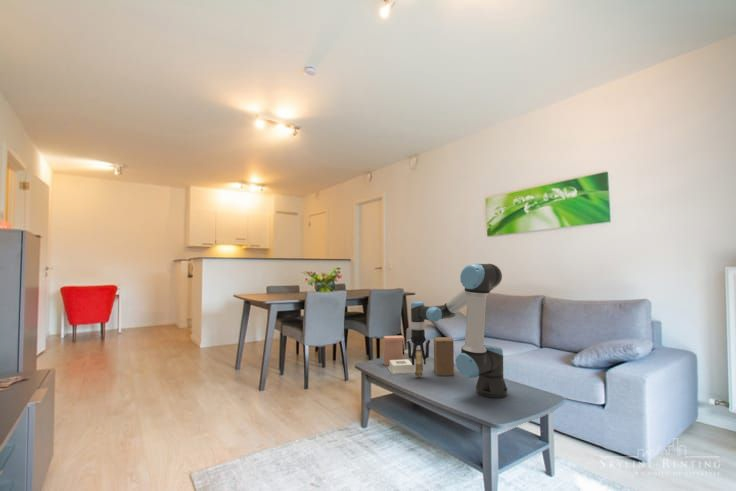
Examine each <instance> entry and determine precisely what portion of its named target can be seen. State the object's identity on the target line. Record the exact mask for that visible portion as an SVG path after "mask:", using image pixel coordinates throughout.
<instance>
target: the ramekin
mask: <svg viewBox="0 0 736 491" xmlns="http://www.w3.org/2000/svg"><path fill="white" fill-rule="evenodd" d="M412 351H413V348H411V356H412ZM403 352H404V357H405V359H408V360H409V361H410V362H411V363H412V359H410V358H409V357H408V349H406V350H403ZM422 358H423V357H422Z"/></svg>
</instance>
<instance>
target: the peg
mask: <svg viewBox="0 0 736 491" xmlns="http://www.w3.org/2000/svg"><path fill="white" fill-rule="evenodd" d="M415 359H416V371H415V374H414V375H415V376H416V377H423V371H422V350H421V348H420V349H419V348H416V353H415Z"/></svg>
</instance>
